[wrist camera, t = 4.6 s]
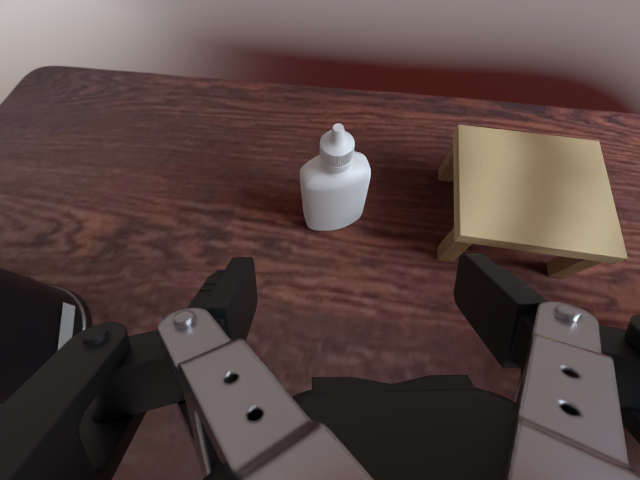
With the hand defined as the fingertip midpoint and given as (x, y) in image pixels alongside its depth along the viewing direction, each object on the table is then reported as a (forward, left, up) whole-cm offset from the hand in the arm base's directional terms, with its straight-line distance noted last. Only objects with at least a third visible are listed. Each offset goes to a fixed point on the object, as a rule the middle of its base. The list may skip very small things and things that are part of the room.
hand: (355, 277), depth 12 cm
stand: (+14, +13, -16) cm, 25 cm away
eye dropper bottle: (-2, +11, -16) cm, 20 cm away
